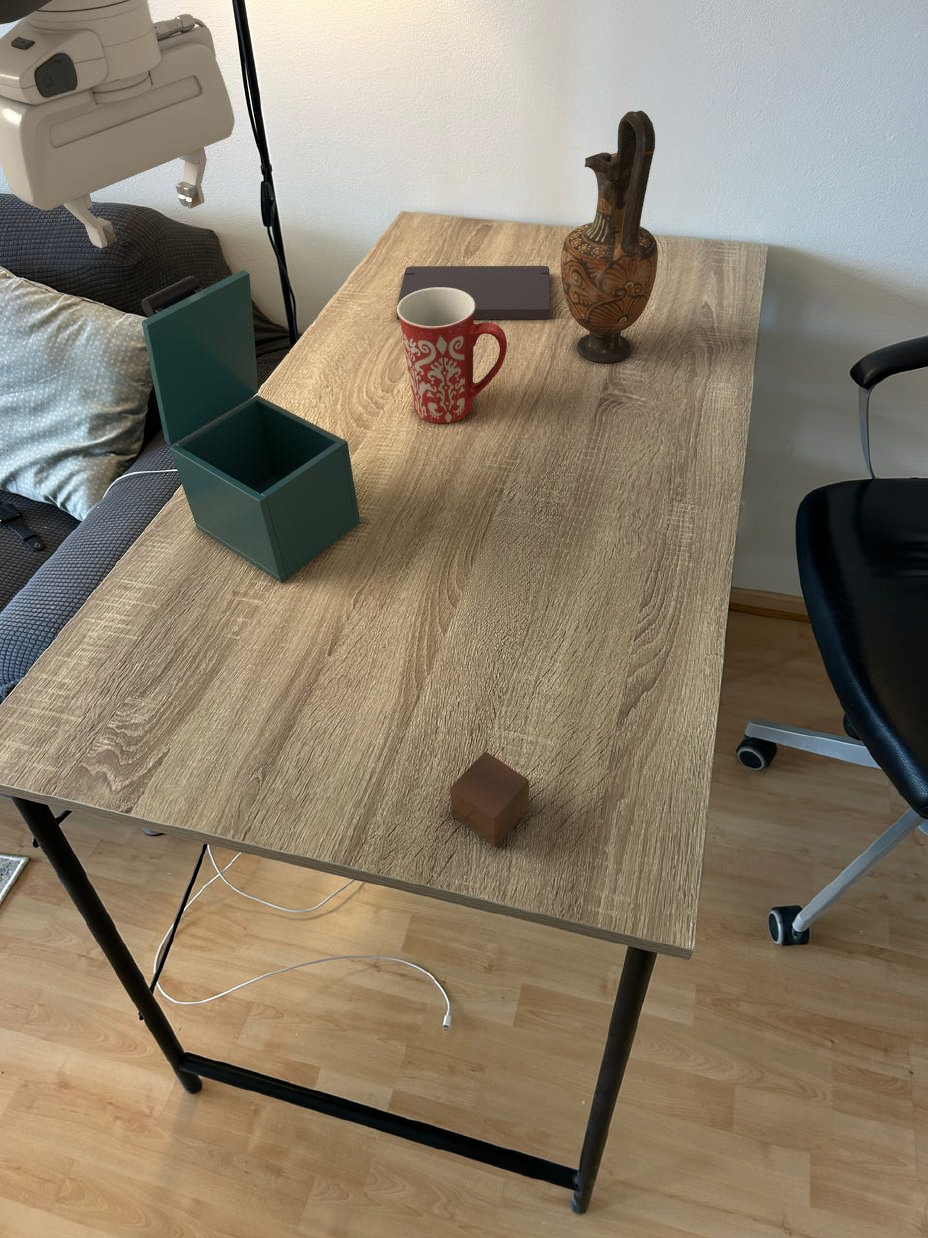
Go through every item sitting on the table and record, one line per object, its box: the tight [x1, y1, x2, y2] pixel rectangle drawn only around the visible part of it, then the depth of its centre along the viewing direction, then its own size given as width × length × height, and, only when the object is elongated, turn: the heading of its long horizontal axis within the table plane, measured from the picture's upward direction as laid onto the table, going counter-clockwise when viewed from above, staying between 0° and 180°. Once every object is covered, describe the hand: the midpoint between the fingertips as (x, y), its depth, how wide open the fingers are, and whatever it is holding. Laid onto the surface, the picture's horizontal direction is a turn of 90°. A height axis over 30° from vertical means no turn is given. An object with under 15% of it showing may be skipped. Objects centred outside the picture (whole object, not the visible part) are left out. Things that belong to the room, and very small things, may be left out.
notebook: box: [395, 265, 551, 320], centre depth 129 cm, size 13×2×21 cm
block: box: [449, 750, 530, 848], centre depth 71 cm, size 4×4×4 cm
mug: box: [396, 287, 508, 424], centre depth 106 cm, size 13×9×14 cm
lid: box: [140, 269, 259, 447], centre depth 87 cm, size 14×12×5 cm
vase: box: [560, 109, 659, 364], centre depth 107 cm, size 12×12×30 cm
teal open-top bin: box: [169, 394, 361, 583], centre depth 93 cm, size 14×12×11 cm
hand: (150, 223), depth 78 cm, fingers open, 8 cm apart
